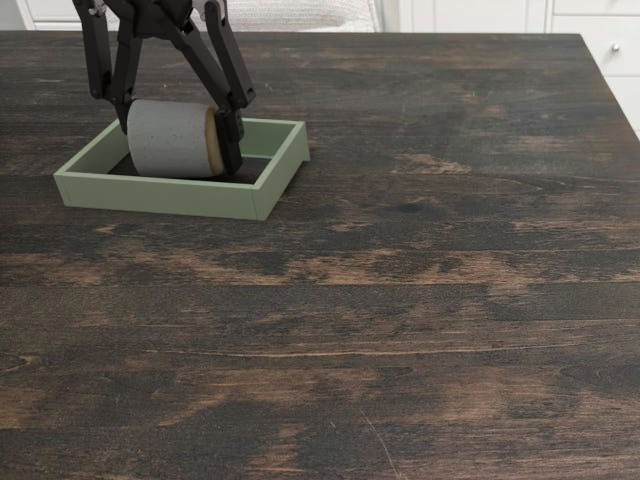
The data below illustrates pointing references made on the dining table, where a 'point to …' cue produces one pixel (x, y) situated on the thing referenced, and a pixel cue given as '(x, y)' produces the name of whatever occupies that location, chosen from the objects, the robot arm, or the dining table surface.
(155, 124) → the ceramic mug
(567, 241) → the dining table surface
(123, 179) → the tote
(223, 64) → the robot arm
